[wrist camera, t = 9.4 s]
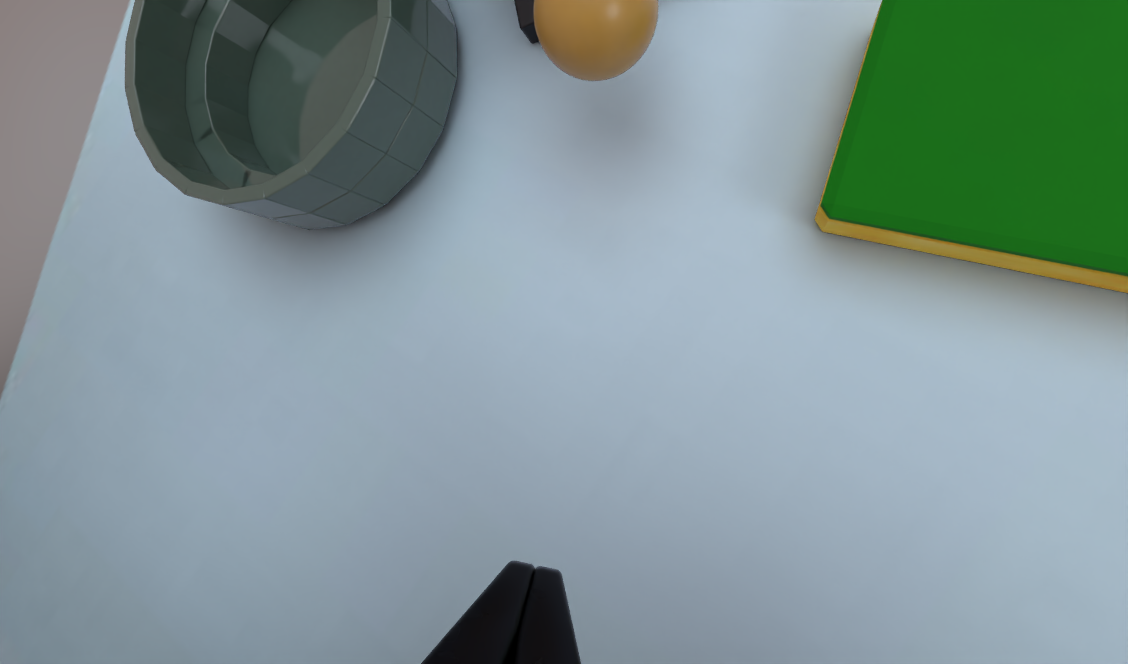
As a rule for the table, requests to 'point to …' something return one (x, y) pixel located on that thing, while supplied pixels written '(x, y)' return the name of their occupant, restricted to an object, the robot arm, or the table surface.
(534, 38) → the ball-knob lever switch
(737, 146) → the table surface
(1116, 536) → the table surface
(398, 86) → the basin
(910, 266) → the table surface
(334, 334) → the table surface
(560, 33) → the tap lever
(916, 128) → the dish sponge
